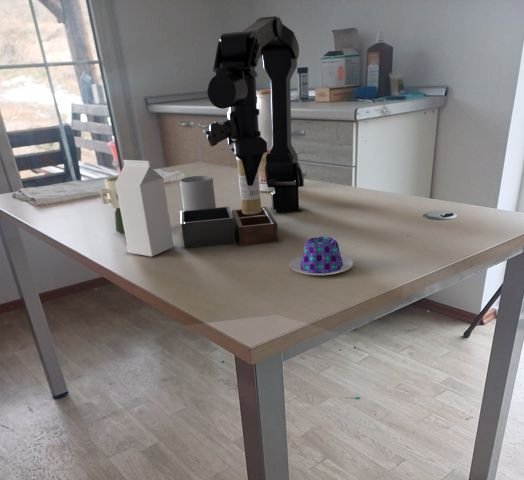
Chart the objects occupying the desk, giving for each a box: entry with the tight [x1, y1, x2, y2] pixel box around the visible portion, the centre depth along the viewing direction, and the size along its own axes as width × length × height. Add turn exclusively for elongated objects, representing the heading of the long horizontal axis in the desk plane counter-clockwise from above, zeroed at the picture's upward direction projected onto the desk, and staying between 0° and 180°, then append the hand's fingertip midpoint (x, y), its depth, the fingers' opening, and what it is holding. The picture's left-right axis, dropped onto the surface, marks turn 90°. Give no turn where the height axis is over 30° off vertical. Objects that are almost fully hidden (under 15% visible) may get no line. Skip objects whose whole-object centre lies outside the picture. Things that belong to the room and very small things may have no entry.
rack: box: [231, 206, 279, 246], centre depth 121 cm, size 8×16×4 cm, turn 9°
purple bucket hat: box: [289, 236, 354, 276], centre depth 98 cm, size 12×12×5 cm
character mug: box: [99, 175, 125, 235], centre depth 126 cm, size 11×7×13 cm, turn 130°
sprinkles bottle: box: [235, 156, 262, 215], centre depth 113 cm, size 5×5×13 cm
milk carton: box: [115, 159, 174, 257], centre depth 110 cm, size 7×7×19 cm
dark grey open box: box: [180, 206, 236, 249], centre depth 119 cm, size 11×11×6 cm
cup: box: [179, 175, 217, 211], centre depth 135 cm, size 8×8×10 cm
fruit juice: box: [256, 88, 273, 192], centre depth 157 cm, size 9×9×28 cm
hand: (248, 183), depth 113 cm, fingers closed on sprinkles bottle, 4 cm apart
